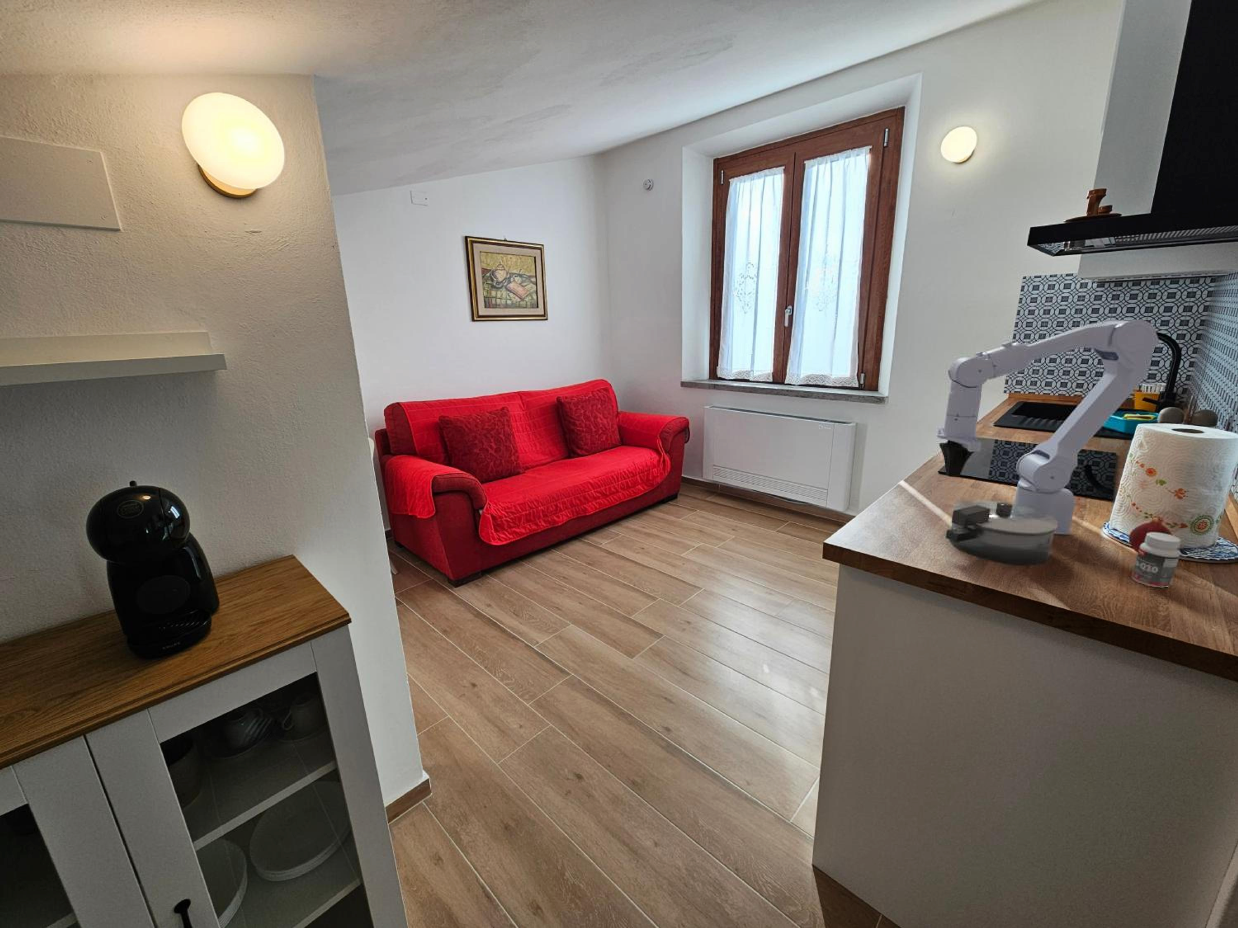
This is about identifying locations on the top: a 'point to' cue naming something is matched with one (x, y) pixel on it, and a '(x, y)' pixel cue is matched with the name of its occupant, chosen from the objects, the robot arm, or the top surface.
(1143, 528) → the onion
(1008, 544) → the cooker pot
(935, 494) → the top surface
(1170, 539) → the pill bottle
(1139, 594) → the top surface
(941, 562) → the top surface
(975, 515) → the cooker lid
